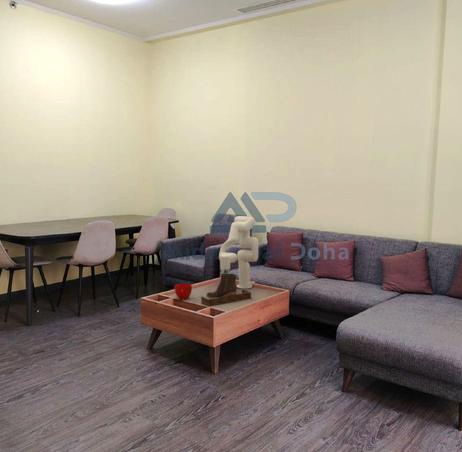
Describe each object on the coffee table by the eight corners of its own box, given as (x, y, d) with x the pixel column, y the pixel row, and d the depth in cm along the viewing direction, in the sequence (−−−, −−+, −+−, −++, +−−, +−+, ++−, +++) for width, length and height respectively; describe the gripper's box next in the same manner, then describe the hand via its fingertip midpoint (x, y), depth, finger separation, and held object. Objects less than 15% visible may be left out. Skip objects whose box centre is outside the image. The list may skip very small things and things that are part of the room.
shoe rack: (243, 295, 353) (243, 289, 353) (251, 298, 344) (251, 292, 344) (201, 302, 333) (201, 296, 333) (208, 306, 324) (208, 299, 324)
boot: (208, 296, 350) (208, 271, 348) (238, 298, 344) (238, 272, 342) (204, 299, 342) (204, 273, 340) (235, 301, 336) (235, 275, 334)
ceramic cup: (173, 302, 335) (173, 289, 334) (175, 296, 351) (175, 283, 350) (191, 302, 336) (191, 288, 335) (192, 295, 352) (192, 283, 351)
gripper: (234, 271, 341) (234, 295, 344) (224, 268, 354) (225, 291, 356) (225, 273, 337) (226, 297, 340) (216, 269, 350) (216, 292, 352)
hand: (225, 294), depth 348 cm, fingers closed
